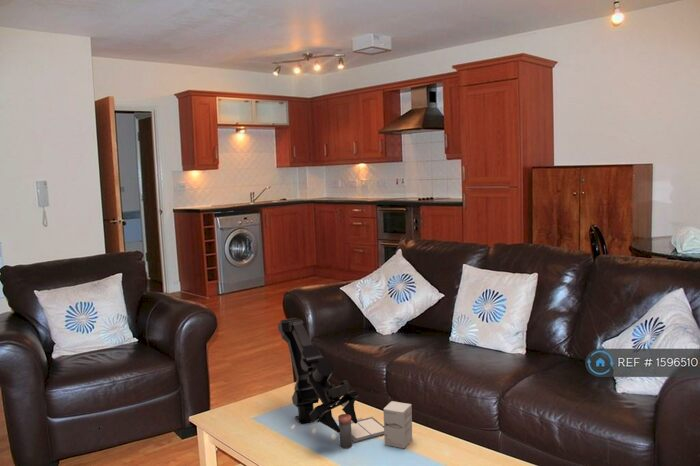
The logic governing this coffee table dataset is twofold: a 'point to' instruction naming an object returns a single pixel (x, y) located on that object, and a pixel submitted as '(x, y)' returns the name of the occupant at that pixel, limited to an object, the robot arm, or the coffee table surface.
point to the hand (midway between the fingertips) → (348, 427)
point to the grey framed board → (366, 429)
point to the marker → (345, 430)
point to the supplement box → (398, 424)
